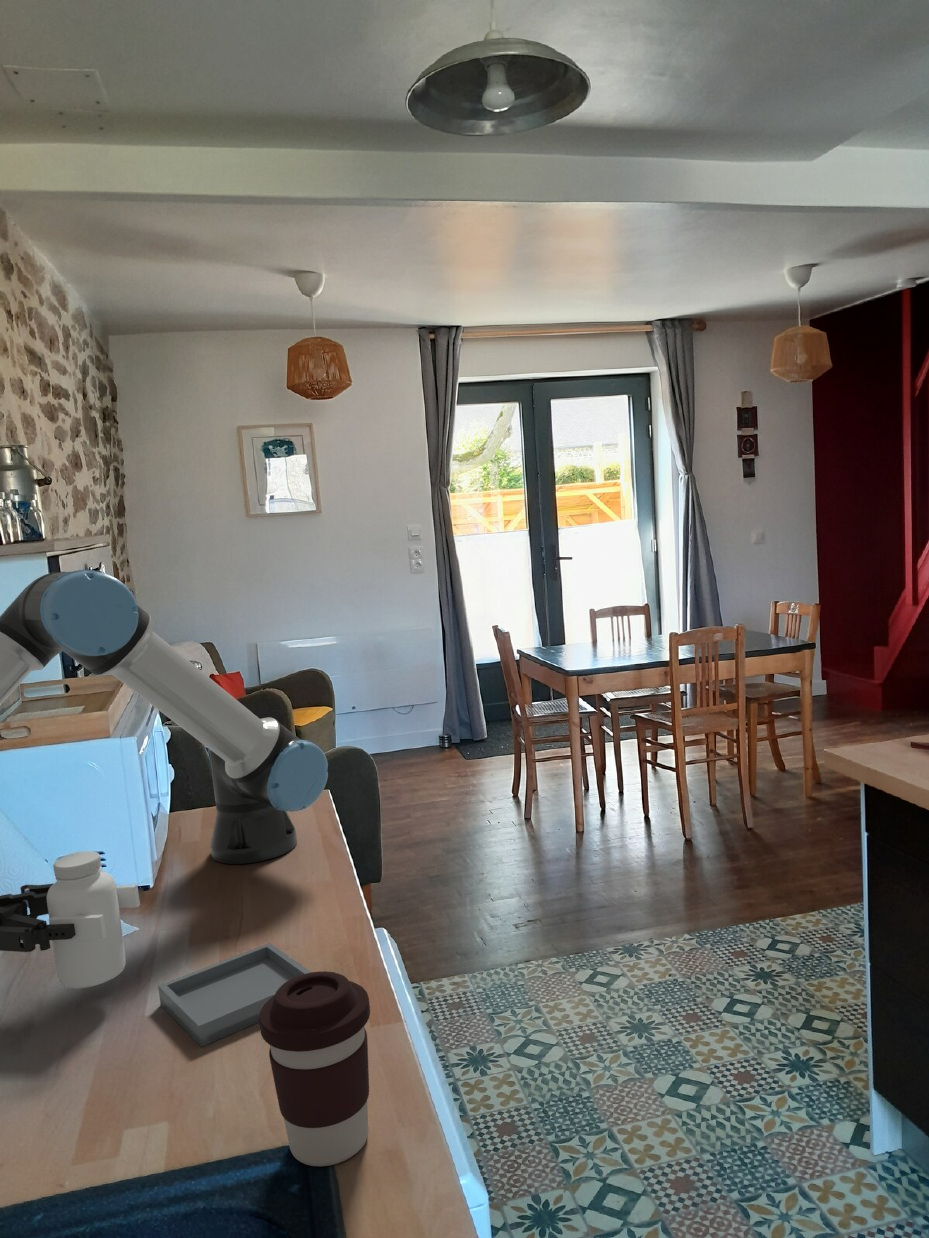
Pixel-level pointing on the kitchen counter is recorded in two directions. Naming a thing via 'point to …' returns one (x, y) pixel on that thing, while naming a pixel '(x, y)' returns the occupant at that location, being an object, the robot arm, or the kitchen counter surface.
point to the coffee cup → (320, 1064)
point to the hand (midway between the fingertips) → (120, 910)
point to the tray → (227, 992)
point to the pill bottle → (86, 894)
